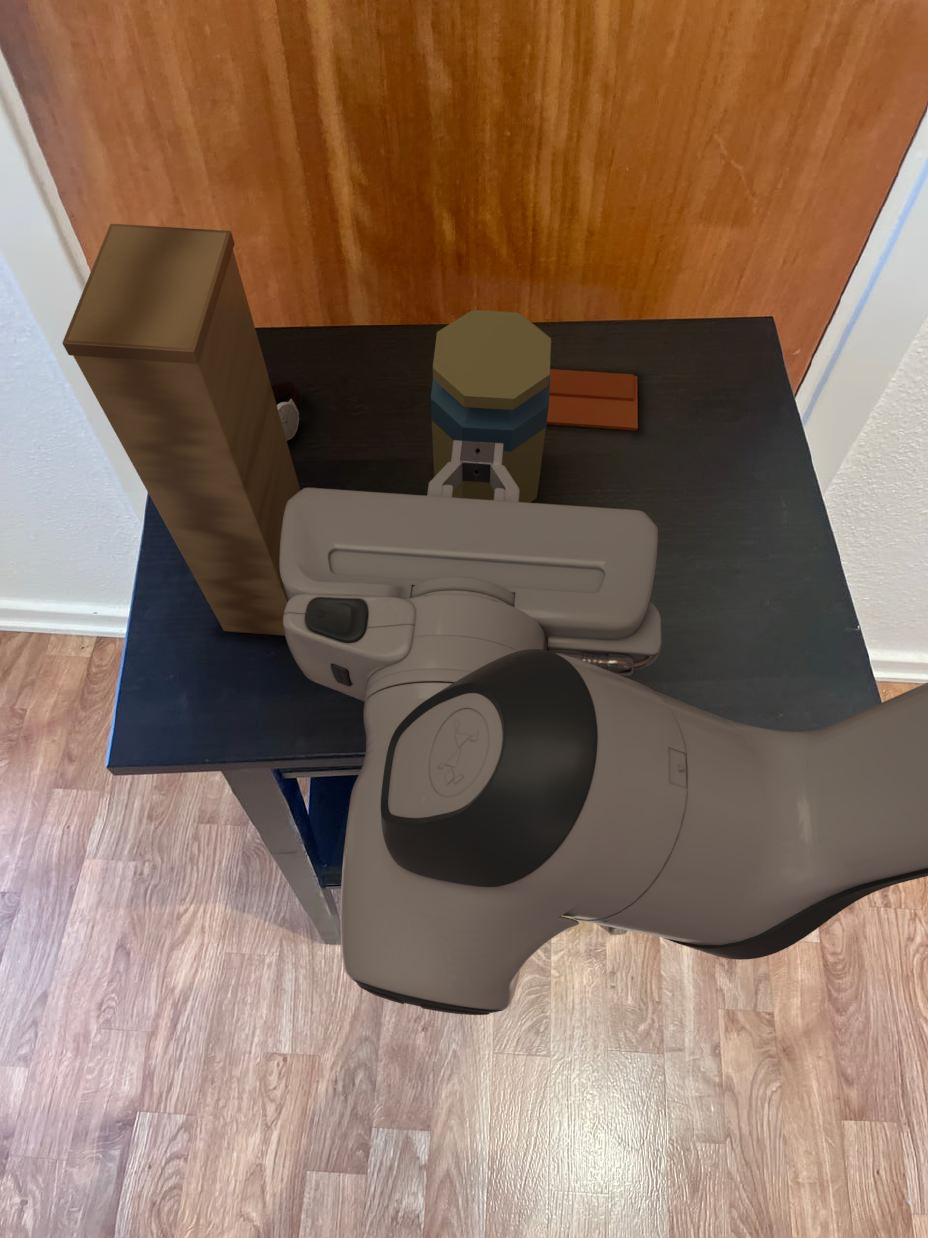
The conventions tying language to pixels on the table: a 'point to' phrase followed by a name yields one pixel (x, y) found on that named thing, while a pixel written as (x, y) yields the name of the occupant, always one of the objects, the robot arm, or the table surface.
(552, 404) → the cloth
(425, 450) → the table surface
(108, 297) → the tall box
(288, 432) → the watch
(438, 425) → the jar
